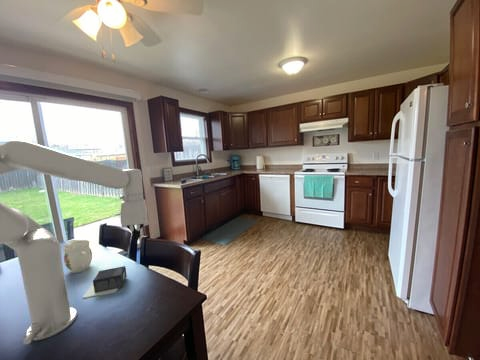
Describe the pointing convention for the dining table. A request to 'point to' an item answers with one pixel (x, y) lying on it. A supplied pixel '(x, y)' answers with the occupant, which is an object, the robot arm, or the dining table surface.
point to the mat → (91, 292)
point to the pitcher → (77, 255)
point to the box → (109, 279)
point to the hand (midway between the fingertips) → (136, 239)
